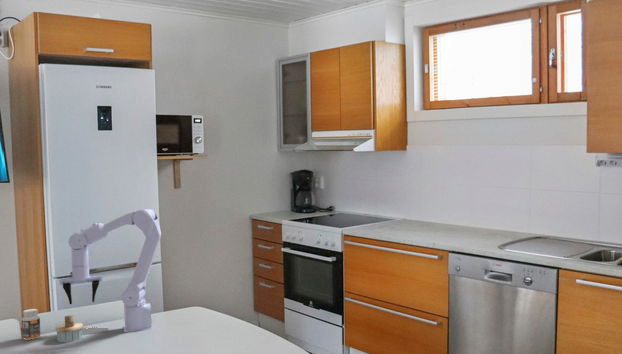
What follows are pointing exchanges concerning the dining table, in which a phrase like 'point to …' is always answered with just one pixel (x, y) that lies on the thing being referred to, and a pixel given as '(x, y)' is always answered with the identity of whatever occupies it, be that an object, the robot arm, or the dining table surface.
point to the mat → (93, 330)
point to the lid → (69, 325)
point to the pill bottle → (30, 324)
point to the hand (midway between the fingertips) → (82, 302)
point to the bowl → (69, 336)
